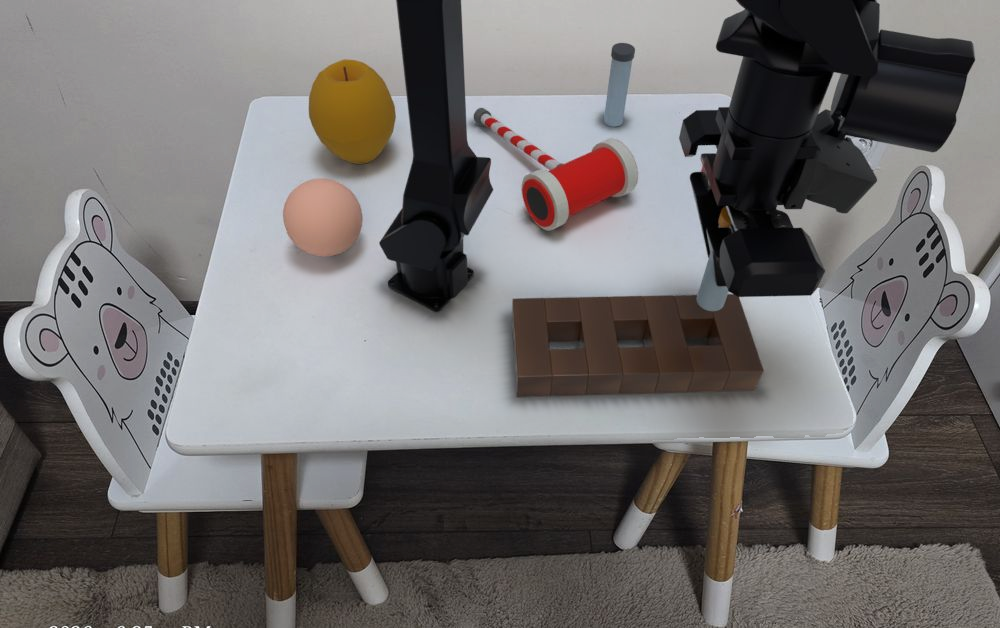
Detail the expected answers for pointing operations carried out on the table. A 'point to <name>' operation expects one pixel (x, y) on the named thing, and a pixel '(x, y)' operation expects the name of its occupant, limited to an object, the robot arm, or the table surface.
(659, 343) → the rack
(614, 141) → the toy hammer
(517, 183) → the table surface
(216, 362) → the table surface
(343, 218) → the toy ball
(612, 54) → the tube grey
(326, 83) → the apple
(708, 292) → the orange-capped peg
